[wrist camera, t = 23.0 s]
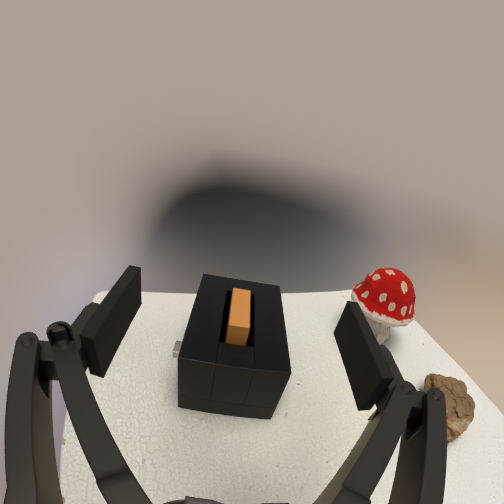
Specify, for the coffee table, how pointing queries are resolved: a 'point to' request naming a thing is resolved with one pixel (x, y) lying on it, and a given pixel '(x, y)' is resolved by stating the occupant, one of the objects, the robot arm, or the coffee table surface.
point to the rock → (453, 403)
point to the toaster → (233, 352)
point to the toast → (238, 318)
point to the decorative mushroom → (385, 300)
